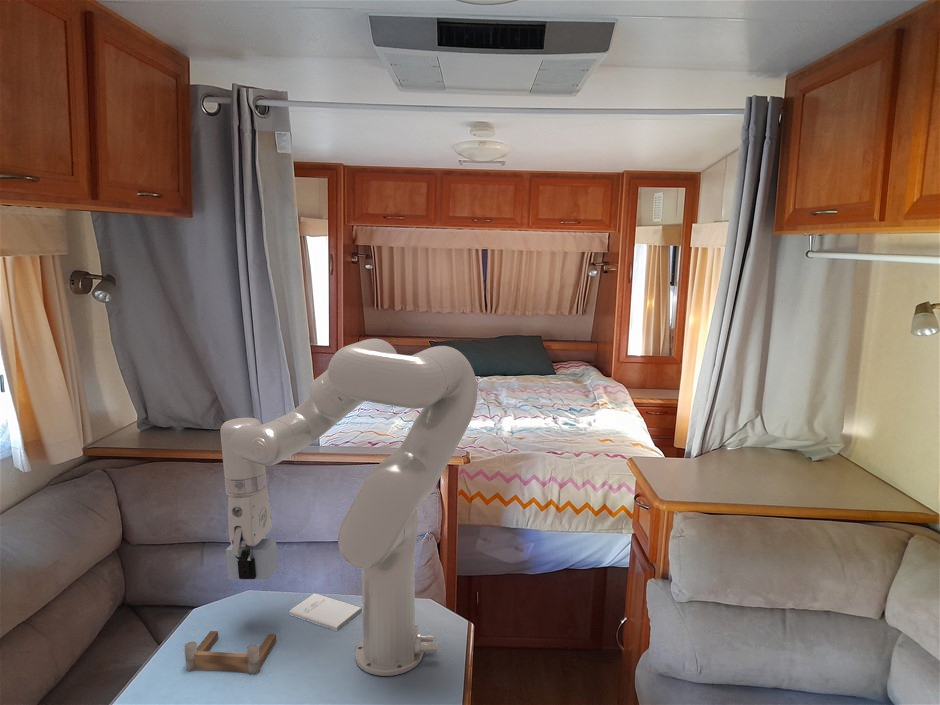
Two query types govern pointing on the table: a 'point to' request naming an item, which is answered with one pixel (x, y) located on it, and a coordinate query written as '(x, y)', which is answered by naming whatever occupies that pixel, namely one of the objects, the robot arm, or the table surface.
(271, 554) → the tall white block
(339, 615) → the external hard drive
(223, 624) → the table surface
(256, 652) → the frame
